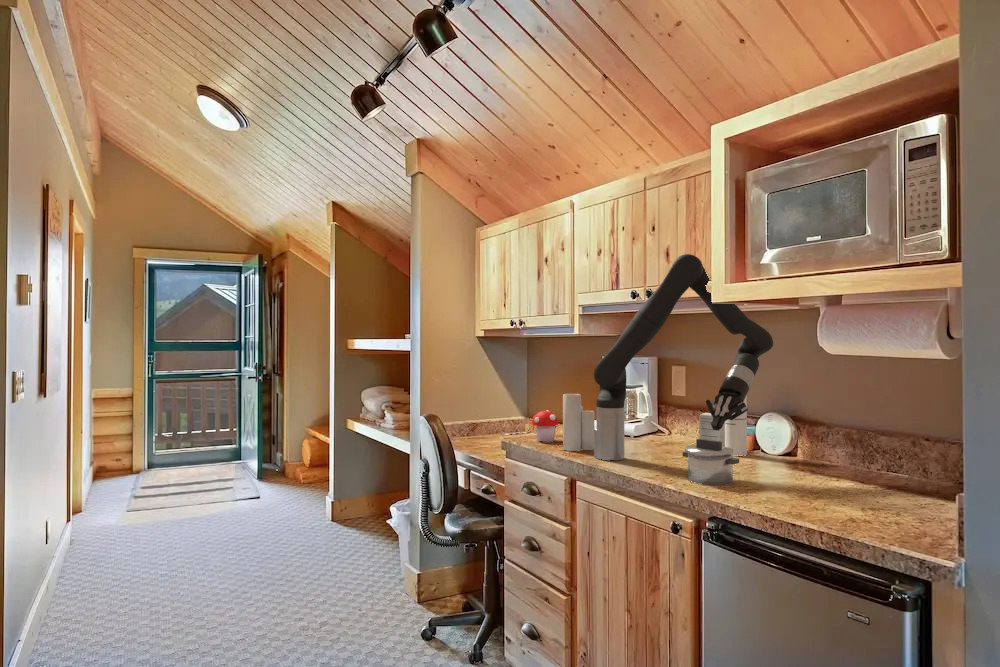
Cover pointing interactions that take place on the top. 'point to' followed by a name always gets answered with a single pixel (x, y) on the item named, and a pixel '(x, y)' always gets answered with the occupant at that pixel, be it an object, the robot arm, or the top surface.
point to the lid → (708, 448)
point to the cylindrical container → (737, 433)
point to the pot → (710, 469)
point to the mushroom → (545, 425)
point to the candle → (577, 424)
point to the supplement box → (710, 429)
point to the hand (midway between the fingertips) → (715, 428)
